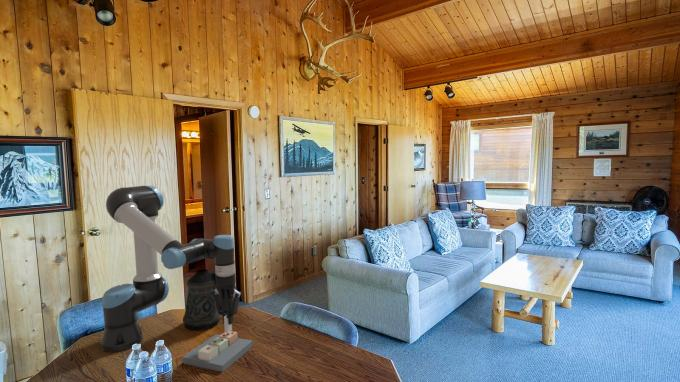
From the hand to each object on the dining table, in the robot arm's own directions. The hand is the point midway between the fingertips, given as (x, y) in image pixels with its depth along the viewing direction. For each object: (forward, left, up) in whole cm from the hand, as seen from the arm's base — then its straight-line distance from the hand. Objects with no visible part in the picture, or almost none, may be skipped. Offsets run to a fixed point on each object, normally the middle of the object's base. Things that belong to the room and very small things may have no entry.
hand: (228, 331), depth 148 cm
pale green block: (0, -6, -5) cm, 8 cm away
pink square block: (0, 0, -5) cm, 5 cm away
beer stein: (-25, +16, -7) cm, 30 cm away
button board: (0, -6, -7) cm, 9 cm away
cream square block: (0, -12, -5) cm, 13 cm away
